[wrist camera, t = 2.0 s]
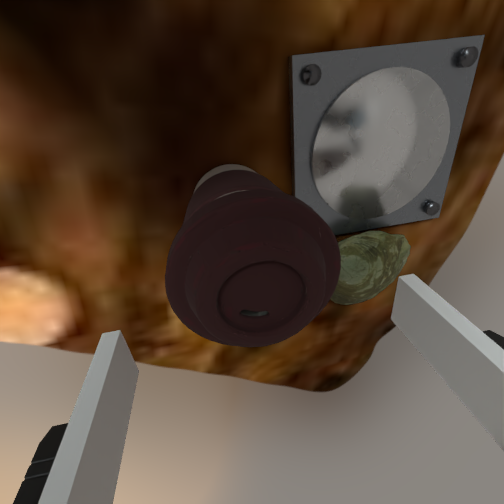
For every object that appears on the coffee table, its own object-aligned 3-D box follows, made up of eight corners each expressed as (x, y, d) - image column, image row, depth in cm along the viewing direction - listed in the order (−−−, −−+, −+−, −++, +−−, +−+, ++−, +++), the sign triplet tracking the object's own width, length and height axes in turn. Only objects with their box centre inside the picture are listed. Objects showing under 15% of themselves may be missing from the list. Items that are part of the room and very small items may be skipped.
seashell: (376, 313, 36) (370, 343, 27) (322, 285, 39) (301, 304, 30) (417, 239, 33) (426, 245, 25) (357, 214, 36) (345, 212, 27)
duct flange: (288, 56, 23) (294, 54, 21) (474, 36, 24) (491, 33, 23) (293, 237, 31) (298, 244, 29) (432, 213, 32) (442, 219, 31)
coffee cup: (231, 121, 24) (272, 160, 11) (301, 199, 29) (388, 291, 16) (154, 203, 26) (117, 314, 14) (231, 264, 31) (257, 389, 18)
